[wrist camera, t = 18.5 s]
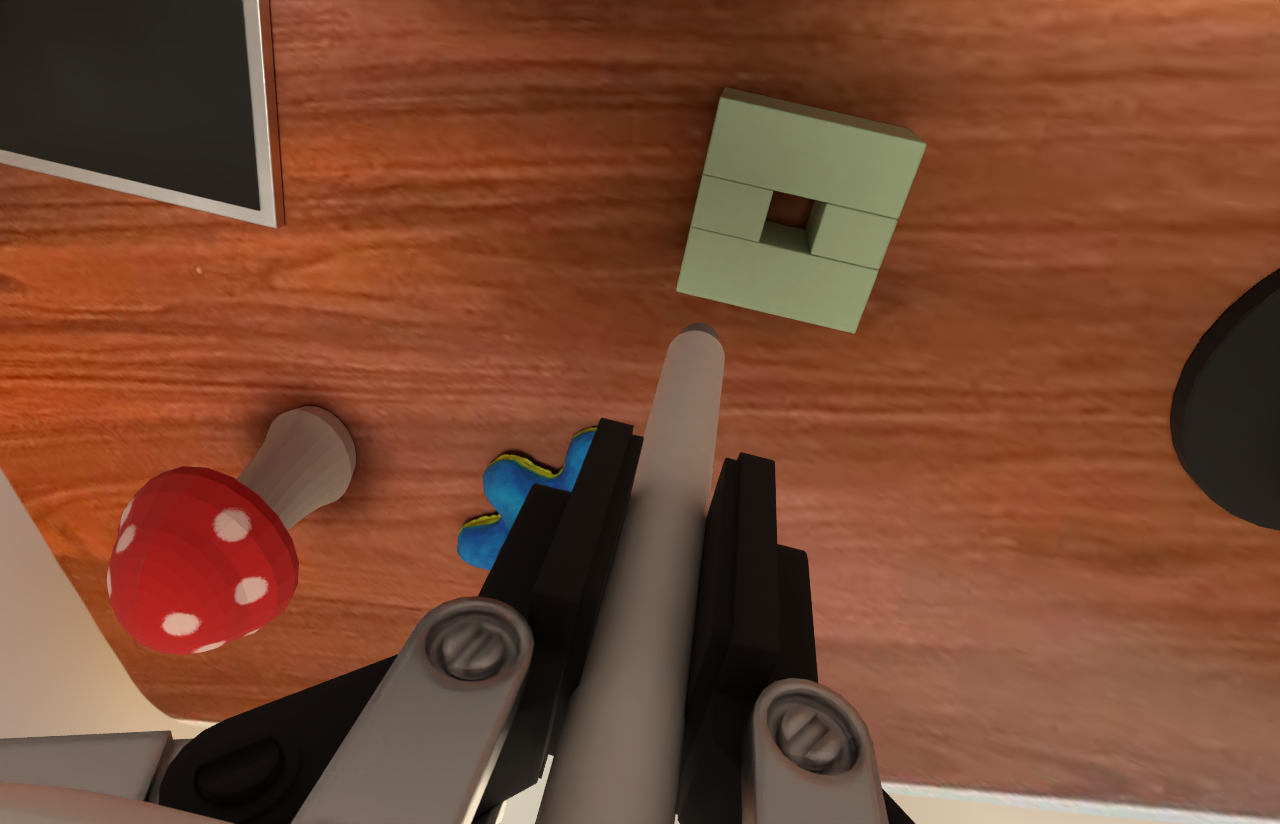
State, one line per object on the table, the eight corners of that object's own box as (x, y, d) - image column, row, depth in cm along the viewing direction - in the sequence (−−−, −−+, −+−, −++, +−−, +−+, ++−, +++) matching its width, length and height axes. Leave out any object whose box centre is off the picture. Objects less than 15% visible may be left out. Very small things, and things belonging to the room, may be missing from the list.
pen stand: (724, 86, 31) (720, 96, 27) (908, 128, 31) (927, 143, 27) (683, 264, 35) (675, 291, 32) (845, 302, 35) (855, 334, 31)
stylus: (676, 309, 18) (529, 823, 6) (731, 320, 18) (678, 860, 6) (667, 358, 18) (519, 899, 7) (720, 369, 18) (652, 932, 7)
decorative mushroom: (388, 523, 47) (245, 719, 34) (264, 495, 47) (76, 678, 34) (384, 393, 42) (215, 566, 29) (244, 363, 42) (16, 520, 29)
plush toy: (416, 478, 44) (349, 568, 37) (663, 398, 39) (641, 486, 32) (539, 660, 51) (502, 766, 44) (764, 614, 46) (764, 727, 38)
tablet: (-218, -202, 31) (-244, -208, 30) (263, -95, 30) (249, -98, 29) (-106, 132, 38) (-124, 134, 37) (285, 225, 37) (275, 229, 36)
